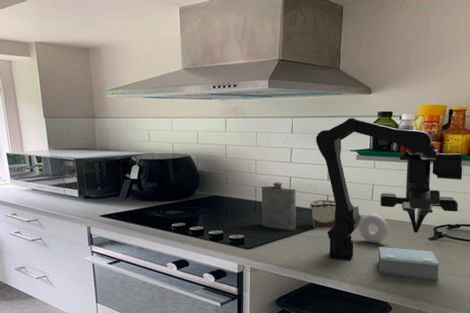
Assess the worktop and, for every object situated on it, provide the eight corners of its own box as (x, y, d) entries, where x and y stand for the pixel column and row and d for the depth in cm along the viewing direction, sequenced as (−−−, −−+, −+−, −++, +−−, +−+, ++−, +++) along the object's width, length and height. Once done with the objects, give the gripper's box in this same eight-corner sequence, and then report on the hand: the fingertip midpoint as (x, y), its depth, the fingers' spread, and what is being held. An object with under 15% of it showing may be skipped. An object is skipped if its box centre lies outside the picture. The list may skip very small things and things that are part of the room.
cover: (380, 259, 100) (380, 256, 100) (379, 248, 109) (379, 245, 109) (438, 265, 95) (439, 261, 95) (432, 253, 104) (432, 250, 104)
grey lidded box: (380, 273, 101) (380, 259, 100) (378, 261, 109) (378, 248, 109) (437, 280, 96) (438, 265, 96) (431, 267, 105) (431, 253, 104)
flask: (292, 231, 141) (292, 184, 139) (260, 226, 149) (259, 181, 147) (296, 229, 144) (296, 183, 142) (264, 223, 152) (264, 180, 150)
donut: (356, 241, 128) (357, 213, 127) (359, 238, 131) (360, 211, 130) (386, 246, 122) (387, 217, 121) (389, 243, 125) (390, 214, 124)
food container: (336, 223, 151) (336, 199, 150) (341, 227, 145) (341, 202, 144) (306, 224, 150) (306, 200, 149) (310, 228, 144) (310, 203, 143)
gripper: (382, 179, 97) (380, 237, 98) (464, 183, 90) (460, 245, 92) (381, 173, 107) (379, 226, 109) (454, 176, 101) (451, 232, 102)
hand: (415, 232), depth 103 cm, fingers closed
